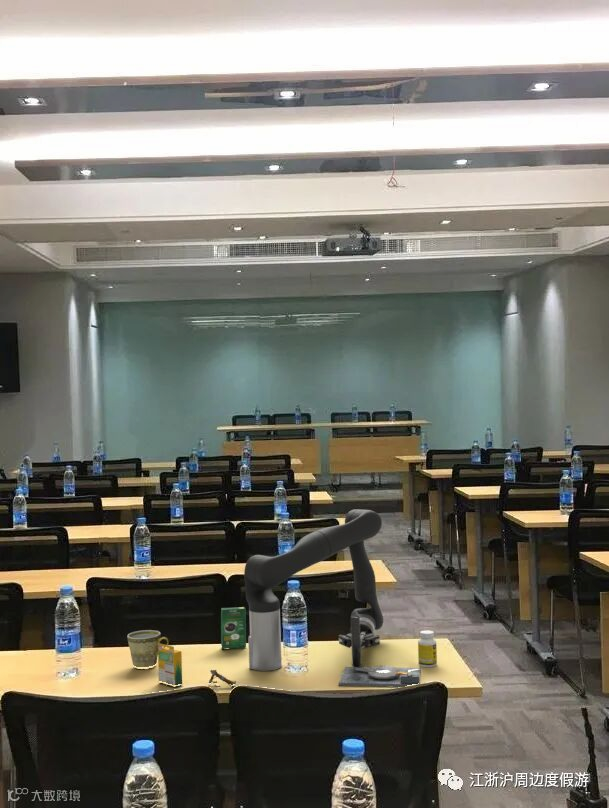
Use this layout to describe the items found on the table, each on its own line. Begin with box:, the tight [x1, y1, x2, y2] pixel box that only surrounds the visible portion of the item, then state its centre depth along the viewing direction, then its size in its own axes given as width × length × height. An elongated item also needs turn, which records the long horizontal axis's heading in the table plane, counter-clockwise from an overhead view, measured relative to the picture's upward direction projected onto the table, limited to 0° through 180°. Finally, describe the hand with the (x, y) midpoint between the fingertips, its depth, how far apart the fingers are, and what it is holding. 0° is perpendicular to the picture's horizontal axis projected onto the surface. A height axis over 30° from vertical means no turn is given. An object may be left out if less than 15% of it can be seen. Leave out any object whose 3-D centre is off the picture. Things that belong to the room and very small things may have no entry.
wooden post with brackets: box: [208, 669, 237, 685], centre depth 239 cm, size 2×8×4 cm, turn 70°
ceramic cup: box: [126, 629, 170, 667], centre depth 260 cm, size 13×10×10 cm
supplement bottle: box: [417, 629, 438, 668], centre depth 252 cm, size 5×5×10 cm
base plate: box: [338, 666, 422, 688], centre depth 242 cm, size 22×15×4 cm
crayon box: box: [157, 642, 183, 685], centre depth 242 cm, size 7×3×12 cm, turn 48°
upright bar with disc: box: [350, 616, 407, 679], centre depth 242 cm, size 18×9×15 cm, turn 55°
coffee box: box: [220, 606, 247, 650], centre depth 278 cm, size 8×3×13 cm, turn 103°
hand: (356, 647), depth 248 cm, fingers closed
